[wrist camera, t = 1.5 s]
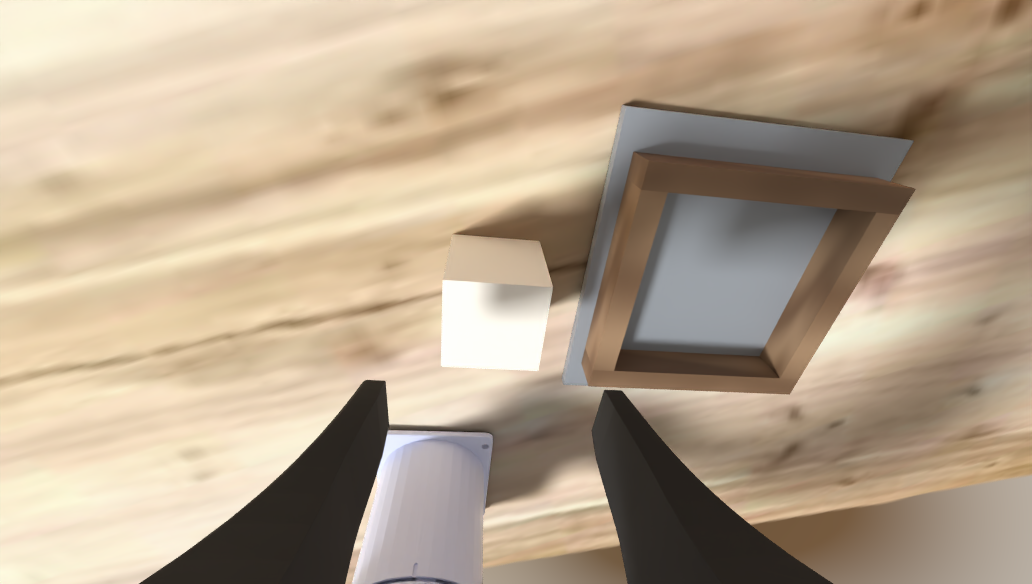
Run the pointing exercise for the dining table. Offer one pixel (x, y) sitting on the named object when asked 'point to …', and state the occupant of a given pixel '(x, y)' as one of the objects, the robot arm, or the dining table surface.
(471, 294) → the cream block
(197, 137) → the dining table surface
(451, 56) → the dining table surface
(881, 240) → the walnut frame
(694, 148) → the base board
